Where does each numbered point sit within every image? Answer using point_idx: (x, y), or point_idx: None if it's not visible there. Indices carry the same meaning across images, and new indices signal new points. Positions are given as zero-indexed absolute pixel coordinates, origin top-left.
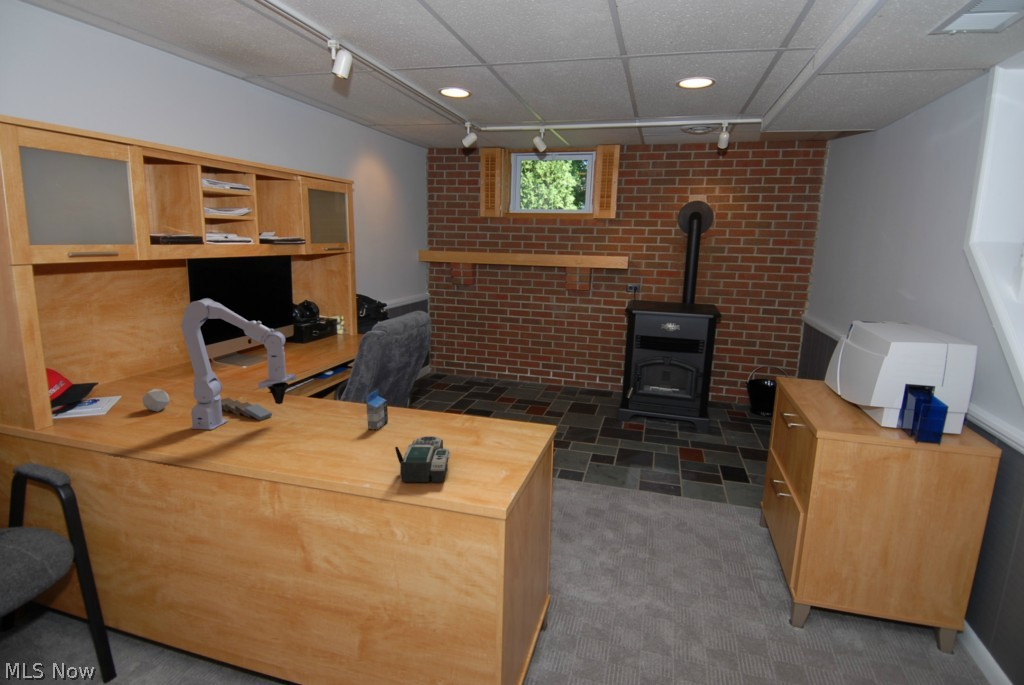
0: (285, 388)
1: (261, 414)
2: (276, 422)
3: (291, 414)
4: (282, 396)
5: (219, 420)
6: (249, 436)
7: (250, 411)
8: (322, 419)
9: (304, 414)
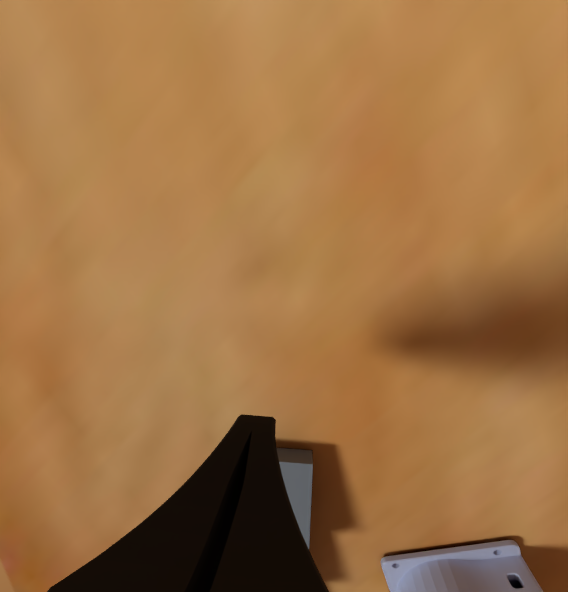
0: (140, 558)
1: (290, 480)
2: (293, 361)
3: (156, 384)
4: (229, 463)
5: (452, 579)
6: (548, 324)
7: (308, 543)
8: (105, 142)
9: (113, 322)
